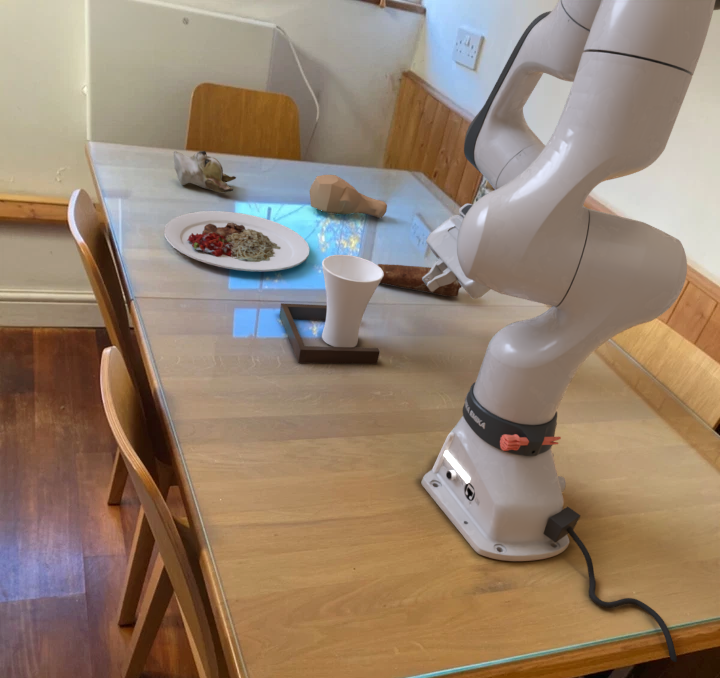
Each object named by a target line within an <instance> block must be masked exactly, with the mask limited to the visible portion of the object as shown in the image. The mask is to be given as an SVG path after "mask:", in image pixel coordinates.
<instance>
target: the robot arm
mask: <svg viewBox="0 0 720 678" xmlns="http://www.w3.org/2000/svg"><path fill="white" fill-rule="evenodd" d="M719 10H720V0H557V2H556V5H555V6H554V7H553V9H552V10H549V11H545V12H543V13H541V14H539V15H538V16H536V17H535V18H534V19H533V20H532V21H531V22H530V23H529V25H528V26H527V27H526V28H525V30H524V31H523V33H522V34H521V36H520V37H519V39H518V41H517V43H516V45H515V46H514V48H513V50H512V52H511V53H510V56H509V57H508V59H507V61H506V63H505V65H504V67H503V69H502V71H501V72H500V74H499V76H498V78H497V80H496V82H495V84H494V86H493V88H492V90H491V92H490V94H489V95H488V98H487V100H486V101H485V103H484V104H483V106H482V108H481V109H480V110H479V111H478V112H477V114H476V115H475V117H473V119H472V121H471V122H470V124H469V126H468V128H467V130H466V133H465V137H464V142H463V153H464V157H465V158H466V161H468V162H469V163H470V164H471V165H472V166H473V167H474V168H475V169H476V170H477V171H478V173H480V174H482V176H483V177H484V178H485V179H486V181H487V182H488V184H489V185H490V186H491V187H492V188H493V189H494V190H491V191H490V192H488V193H486V194H484V195H483V196H481V197H479V199H478V200H476V202H474V203H468V202H467V203H465V204H464V205H462V206H461V207H459V208H458V213H459V214H454V215H451V216H450V217H448V218H447V219H446V220H444V221H443V222H442V223H440V224H439V225H438V226H437V227H436V228H435V229H434V230H432V231H431V232H430V233H429V234H428V236H427V238H426V240H425V242H426V244H427V246H428V248H429V250H430V251H431V252H432V254H433V255H434V256H435V257H436V258H437V260H436V261H435V262H434V263H433V264H432V266H431V267H430V268H431V270H430V271H429V273H427V274H426V275H425V276H424V277H423V278H422V280H423V282H424V283H425V285H426V286H427V287H428V288H429V290H430V291H431V292H433V291H434V290H436V289H437V288H438V287H441V286H444V285H448V284H451V283H452V282H454V281H455V280H457V281H458V282H459V283H460V285H461V288H462V289H463V290H464V291H465V292H466V293H467V294H468V295H469V296H470V297H471V299H473V300H474V299H478V298H479V299H480V298H481V297H483V296H484V295H486V294H487V293H489V291H490V290H492V291H493V292H497V293H498V294H501V295H506V296H509V297H513V298H517V299H522V300H525V301H531V302H534V303H539V304H543V305H547V306H551V307H550V308H548V309H547V310H545V311H544V312H542V313H540V314H539V315H537V316H534V317H531V318H526V319H521V320H519V321H515V322H511V323H509V324H507V325H505V326H504V327H503V328H501V329H500V330H498V331H497V332H496V333H495V334H494V335H493V336H492V337H491V339H490V340H489V342H488V345H487V348H486V351H485V354H484V356H483V359H482V362H481V365H480V368H479V371H478V373H477V377H476V380H475V381H474V382H473V383H472V384H471V386H470V388H469V390H468V392H467V393H466V396H465V399H464V404H463V406H462V416H461V417H460V419H459V420H458V422H457V423H456V424H455V426H454V427H453V428H452V429H451V430H450V431H449V433H448V434H447V436H446V438H445V440H444V442H443V445H442V447H441V449H440V451H439V453H438V456H437V457H436V459H435V462H434V464H433V467H432V468H431V469H430V470H429V471H428V472H426V473H425V474H424V475H423V477H422V479H421V481H420V482H421V485H422V487H423V488H424V489H425V491H426V492H427V493H428V494H429V496H430V497H431V499H432V500H433V501H434V502H435V503H436V504H437V506H438V507H439V509H441V511H442V512H443V513H444V514H445V515H446V517H447V518H448V520H449V521H450V522H451V523H452V524H453V526H454V527H455V528H456V530H458V532H459V533H460V534H461V536H462V537H463V538H464V539H465V540H466V542H467V543H468V544H469V545H470V547H471V548H472V549H473V550H474V551H475V552H476V553H477V554H478V555H479V556H483V557H485V558H488V559H494V560H497V561H498V560H499V561H503V562H505V561H506V562H528V561H529V562H530V561H538V560H544V559H549V558H552V557H555V556H558V555H560V554H561V553H563V552H564V551H566V549H568V547H569V545H570V538H569V536H570V537H571V539H572V540H573V542H575V544H576V545H577V546H578V548H579V549H580V551H581V553H582V555H583V557H584V559H585V562H586V567H587V573H588V574H587V575H588V578H589V587H588V595H589V599H590V600H591V601H592V602H593V603H594V604H596V605H597V606H599V607H602V608H605V609H612V608H617V607H622V606H624V605H633V606H636V607H638V608H640V609H641V610H643V611H644V612H646V613H647V614H648V615H650V616H651V617H652V618H653V619H654V620H655V621H656V623H657V624H658V626H659V628H660V630H661V632H662V634H663V636H664V640H665V643H666V646H667V650H668V654H669V659H671V661H672V662H673V663H677V662H678V657H677V652H676V648H675V645H674V642H673V641H674V640H673V638H672V635H671V632H670V630H669V628H668V626H667V624H666V622H665V620H664V619H663V618H662V617H661V616H660V614H658V613H657V612H656V611H655V610H654V609H653V608H652V607H650V606H649V605H647V604H646V603H644V602H643V601H640V600H638V599H636V598H632V597H626V598H621V599H617V600H614V601H604V600H601V599H600V598H599V597H598V596H597V595H596V587H597V583H596V576H595V571H594V563H593V559H592V557H591V555H590V554H591V553H590V552H589V550H588V549H587V547H586V545H585V544H584V542H583V541H582V540H581V538H580V537H579V536H578V535H577V533H576V532H575V531H574V529H575V527H576V525H577V523H578V521H579V520H580V518H581V515H580V514H579V513H578V512H576V511H575V510H574V509H572V508H571V507H570V506H566V507H564V504H565V500H564V496H563V492H564V491H565V490H566V485H567V481H566V478H565V477H564V476H562V475H559V474H558V470H557V466H556V461H555V458H554V457H555V455H554V452H553V448H552V447H553V446H555V445H559V442H557V441H559V440H561V439H562V437H561V436H556V435H555V434H556V430H557V426H558V425H557V424H558V422H557V421H558V409H559V407H560V404H561V402H562V400H563V398H564V397H565V394H566V392H567V390H568V388H569V387H570V384H571V383H572V381H573V379H574V377H575V375H576V374H577V372H578V370H579V369H580V367H581V366H582V365H583V363H584V362H585V361H586V360H587V359H588V358H589V357H590V356H591V355H592V354H593V353H594V352H595V351H597V350H598V349H599V348H600V347H601V346H602V345H604V344H605V343H607V342H608V341H609V340H611V339H613V338H614V337H616V336H617V335H620V334H621V333H623V332H624V331H627V330H630V329H632V328H634V327H637V326H640V325H643V324H646V323H649V322H652V321H654V320H656V319H658V318H659V317H660V316H662V315H664V314H665V313H666V312H667V311H668V310H669V309H670V308H671V307H672V306H673V305H674V304H675V302H676V301H677V300H678V297H679V296H680V294H681V293H682V290H683V289H684V286H685V284H686V279H687V273H688V259H687V254H686V250H685V248H684V246H683V244H682V242H681V241H680V239H678V238H676V237H675V236H672V235H671V234H669V233H667V232H665V231H663V230H661V229H660V228H657V227H655V226H653V225H650V224H648V223H647V222H644V221H641V220H636V219H632V218H627V217H625V216H624V217H623V216H620V215H615V214H612V213H608V212H603V211H600V210H595V209H591V208H588V207H587V206H585V205H584V204H585V202H586V200H587V198H588V197H589V195H590V194H591V192H592V191H593V190H594V189H595V188H596V187H597V186H598V185H600V184H601V183H603V182H606V181H611V180H614V179H619V178H624V177H626V176H630V175H633V174H636V173H638V172H641V171H644V170H645V169H647V168H649V167H650V166H651V165H653V164H654V163H655V162H656V161H657V160H658V159H659V158H660V157H661V155H662V154H663V153H664V151H665V149H666V147H667V144H668V143H669V139H670V136H671V134H672V132H673V129H674V126H675V124H676V121H677V118H678V116H679V113H680V111H681V108H682V107H683V103H684V100H685V97H686V96H687V92H688V90H689V87H690V85H691V81H692V79H693V76H694V74H695V72H696V69H697V65H698V62H699V60H700V58H701V54H702V51H703V48H704V45H705V41H706V38H707V36H708V31H709V28H710V25H711V21H712V17H713V13H714V11H719ZM544 74H545V75H549V76H552V77H554V78H557V79H559V80H561V81H565V82H570V83H572V84H571V87H570V91H569V92H568V96H567V98H566V101H565V104H564V107H563V109H562V112H561V113H560V116H559V119H558V121H557V124H556V126H555V127H554V130H553V132H552V134H551V136H550V137H549V140H548V141H547V143H546V144H544V143H543V141H542V140H541V139H540V138H539V137H538V135H537V134H536V133H535V132H534V131H533V130H532V129H531V128H530V126H529V125H528V123H527V121H526V118H525V115H524V107H525V106H526V104H527V102H528V100H529V98H530V96H531V95H532V93H533V92H534V90H535V88H536V87H537V85H538V84H539V82H540V79H542V76H543V75H544ZM441 273H442V274H441ZM440 274H441V275H440ZM568 535H569V536H568Z"/></svg>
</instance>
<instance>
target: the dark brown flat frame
mask: <svg viewBox="0 0 720 678" xmlns="http://www.w3.org/2000/svg"><path fill="white" fill-rule="evenodd" d="M326 313H327V304H326V305H325V304H304V303H285V302H284V303H283V302H281V303H280V308H279V318H280V321H281V323H282V327H283V329H284V331H285V333H286V336H287V338H288V340H289V343H290V346H291V348H292V350H293V353H294V355H295V358H296V361H297V362H298V363H299V364H300V363H301V364H350V365H351V364H357V365H378V361H379V357H380V353H381V351H380V349H379V347H358V346H357V347H356V346H354V347H334V346H320V345H319V346H317V345H315V346H314V345H313V346H312V345H305V344H304V341H303V339H302V337H301V335H300V332H299V330H298V327H297V325H296V323H295V320H300V321H324V322H326Z"/></svg>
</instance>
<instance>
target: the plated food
mask: <svg viewBox="0 0 720 678" xmlns="http://www.w3.org/2000/svg"><path fill="white" fill-rule="evenodd" d="M164 237H165V238H166V239H165V240H166V241H167V242H168V243H169V244H170V245H171V247H172V248H173V249H175V250H177V251H178V252H179V253H181V254H182V255H185V256H187V257H188V258H191V259H194V260H195V261H198V262H202V263H204V264H207V265H210V266H215V267H218V268H223V269H229V270H235V271H244V272H276V271H282V270H287V269H292V268H295V267H298V266H299V265H301V264H302V263H304V262H306V260H307V259H308V258H309V255H310V247H309V243H308V242H307V241H306V240H305V238H304V237H303V236H301V234H299V233H298V232H297V231H294V230H293V229H291V228H290V227H288V226H285V225H283V224H281V223H279V222H277V221H274V220H271V219H267V218H264V217H261V216H256V215H253V214H246V213H241V212H234V211H233V212H232V211H223V210H221V211H219V210H205V211H204V210H203V211H202V210H201V211H194V212H188V213H184V214H180V215H178V216H176V217H173V218H172V219H170V220H169V221H168V222H167V223H166V225H165V226H164Z"/></svg>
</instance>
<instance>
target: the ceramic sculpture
mask: <svg viewBox="0 0 720 678" xmlns="http://www.w3.org/2000/svg"><path fill="white" fill-rule="evenodd" d="M173 162H174V165H173V166H174V170H175V172H176V176H177V178H178V179H177V180H178V182H179V184H181V185H182V186H186V185H187V184H193V185H196V186H197V187H200V188H202V189H205V190H212V191H213V192H215V193H229V192H234V188H232V187H230V186H229V185H228V184H227V183H229V182H231V181H234V180H236V179H237V176H235V175H232V176H230V175H228V174H226V173H224V169H223V166H222V164H221V162H220V161H219V160H218V159H217V158H216V157H212V156H208V154H207V151H206V150H202V151H201V150H200V151H198V152H195V153H194V154H193V155H192V156H187V155H185V154H184V153H181V152H179V151H176V150H173Z"/></svg>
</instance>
